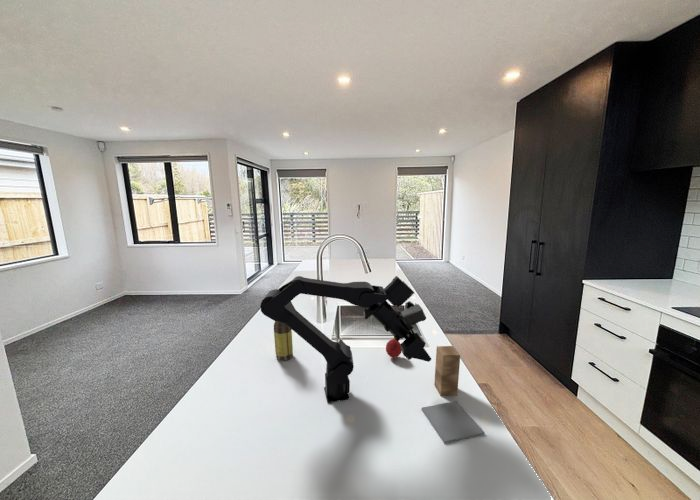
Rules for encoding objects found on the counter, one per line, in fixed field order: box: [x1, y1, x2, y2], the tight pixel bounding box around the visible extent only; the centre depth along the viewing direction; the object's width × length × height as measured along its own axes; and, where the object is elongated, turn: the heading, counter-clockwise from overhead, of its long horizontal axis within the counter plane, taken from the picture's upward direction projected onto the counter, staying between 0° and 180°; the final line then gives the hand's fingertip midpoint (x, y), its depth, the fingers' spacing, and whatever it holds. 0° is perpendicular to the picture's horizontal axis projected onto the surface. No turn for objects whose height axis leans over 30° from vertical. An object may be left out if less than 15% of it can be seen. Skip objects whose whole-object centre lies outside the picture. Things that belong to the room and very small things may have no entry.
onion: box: [385, 336, 402, 359], centre depth 98 cm, size 6×6×8 cm
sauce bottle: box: [273, 321, 294, 362], centre depth 98 cm, size 6×6×20 cm
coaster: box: [421, 400, 486, 445], centre depth 70 cm, size 11×11×1 cm
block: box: [433, 345, 461, 397], centre depth 81 cm, size 5×5×13 cm
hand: (424, 351), depth 79 cm, fingers open, 9 cm apart
